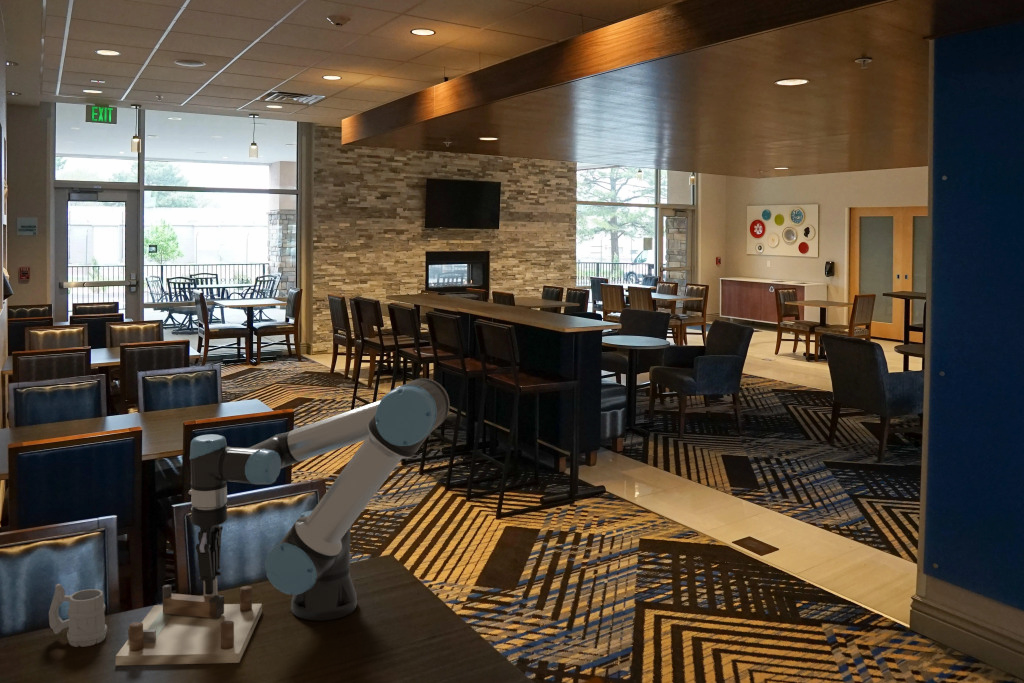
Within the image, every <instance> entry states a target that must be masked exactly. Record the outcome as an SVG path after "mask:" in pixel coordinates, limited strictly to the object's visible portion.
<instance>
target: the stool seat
mask: <svg viewBox="0 0 1024 683" xmlns="http://www.w3.org/2000/svg"><path fill="white" fill-rule="evenodd" d="M262 613H263V604H262V603H253V587H252V586H249V585H246V586H245V585H244V586H241V587H240V588H239V603H224V614H222V615H221V616H220V617H219V618H208V617H197V616H186V615H175V614H164V613H163V604H159V605H158V604H157V605H153V606H152V607H151V609H150V610H149V611H148V613H147V614H146V615H145V617H144V618H143V620H142V621H141V622H140V621H138V622H137V621H136V622H132V623H130V624H129V625H128V628H127V640H126V642H125V643H124V645H123V646H122V647H121V648H120V650H119V651H118V652H117V653H116V655H115V666H146V665H147V666H155V665H157V666H158V665H188V664H189V665H193V664H194V665H195V664H196V665H197V664H200V665H201V664H202V665H203V664H228V663H229V664H232V663H234V664H236V663H240V662H241V659H242V657H243V655H244V653H245V652H246V651H245V650H246V648H247V646H248V644H249V642H250V640H251V637H252V635H253V633H254V631H255V628H256V626H257V624H258V621H259V619H260V617H261V615H262Z"/></svg>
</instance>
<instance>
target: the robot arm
mask: <svg viewBox="0 0 1024 683" xmlns="http://www.w3.org/2000/svg"><path fill="white" fill-rule="evenodd" d="M450 407H451V406H450V398H449V395H448V393H447V390H446V389H445V387H443V386H442V385H441V383H439V382H437V381H436V380H434V379H431V378H423V377H422V378H416V379H414V380H411V381H409V382H406V383H405V384H402V385H399V386H396V387H395V388H392V389H391V390H390V391H389V392H387V393H386V394H385V395H384V396H383V397H382V398H381V399H380V400H377V401H374V402H371V403H368V404H365V405H362V406H359V407H357V408H354V409H351V410H348V411H345V412H343V413H339V414H336V415H334V416H330V417H328V418H324V419H321V420H319V421H318V420H317V421H316V422H312V423H310V424H307V425H304V426H302V427H298V428H296V429H295V428H294V429H292V430H290V431H287V432H283V433H278V434H275V435H273V436H271V437H270V438H267V439H265V440H263V441H260V442H259V443H257V444H254V445H252V446H250V447H237V446H236V447H234V446H228V445H227V444H228V443H227V439H226V437H225V436H224V435H220V434H212V433H211V434H202V435H199V436H195V437H193V439H192V440H191V441H190V446H189V447H190V448H189V463H190V464H189V466H190V467H189V468H190V490H188V494H189V495H191V497H190V498H191V499H190V501H191V502H190V504H191V508H190V515H191V516H190V522H191V523H192V524H193V525H194V526H196V527H199V528H200V531H198V534H197V536H198V537H197V539H198V541H199V543H197V544H196V545H195V550H196V553H197V561H198V571H199V579H198V580H199V581H200V582H202V581H203V596H206V597H214V596H215V595H218V592H219V591H218V577H219V576H221V575H222V571H219V570H220V569H221V554H222V552H221V551H222V550H221V548H222V535H223V534H222V533H223V528H224V527H223V525H222V524H224V523H225V522H227V520H228V505H227V503H228V490H227V489H228V485H227V482H233V483H242V484H251V485H257V486H258V485H260V486H261V485H272V484H273V483H275V482H276V481H277V478H278V477H279V475H280V473H281V469H284V468H287V467H289V466H292V465H294V464H297V463H300V462H302V461H306V460H309V459H311V458H314V457H318V456H320V455H324V454H327V453H331V452H333V451H337V450H339V449H342V448H345V447H349V446H351V445H354V444H355V445H356V444H358V443H361V442H362V444H361V445H360V446H359V448H358V449H357V450H356V451H355V453H354V455H353V456H352V457H351V458H350V460H349V461H348V463H347V464H346V465H345V467H344V468H343V469H342V470H341V472H340V473H339V475H338V476H337V478H335V481H334V482H332V484H331V485H330V487H329V488H328V490H327V491H326V493H324V495H323V496H322V498H321V499H320V500H319V502H318V503H317V504H316V506H314V508H313V509H312V510H307V511H304V512H302V513H301V514H300V515H299V518H298V519H297V520H296V521H295V522H294V523H293V525H292V526H291V527H290V529H289V530H288V531H287V533H286V534H285V536H284V537H283V538H282V540H281V541H280V542H279V543H276V544H275V545H273V547H272V548H270V550H269V551H268V553H267V555H266V557H265V562H264V570H265V573H266V574H265V575H266V577H267V579H268V581H269V582H270V583H271V585H272V586H273V587H274V588H275V589H277V590H278V591H279V592H281V593H283V594H286V595H292V598H291V602H290V603H291V612H292V615H294V616H296V617H297V618H300V619H303V620H307V621H318V622H319V621H330V620H336V619H341V618H343V617H346V616H348V615H350V614H352V613H353V612H354V611H355V610H356V609H355V608H357V607H356V606H357V604H358V602H357V601H358V596H357V592H356V589H355V587H354V583H353V580H352V578H351V574H350V573H351V572H350V567H351V564H350V563H351V530H352V525H353V524H354V523H355V521H356V520H357V519H358V518H359V516H360V515H361V514H362V512H363V511H364V509H366V507H367V505H368V504H369V503H370V501H371V500H372V498H374V496H375V495H376V494H377V492H378V491H379V490H380V488H381V487H382V486H383V484H384V483H385V482H386V480H387V479H388V478H389V477H390V475H391V474H392V472H393V471H394V469H395V468H396V467H397V466H398V464H399V463H400V462H401V460H402V459H403V460H404V459H411V458H413V456H414V455H415V454H416V453H417V451H418V450H419V449H420V447H421V446H422V444H424V442H425V440H427V438H428V437H429V436H430V435H431V433H432V432H433V431H434V430H436V429H437V428H438V427H439V426H441V425H442V424H443V423H444V422H445V420H446V419H447V416H448V415H449V411H450Z"/></svg>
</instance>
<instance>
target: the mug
mask: <svg viewBox="0 0 1024 683" xmlns="http://www.w3.org/2000/svg"><path fill="white" fill-rule="evenodd" d="M54 590H55V591H54V594H53V598H52V601H51V603H50V604H51V605H50V606H49V611H48V622H49V627H50V628H51V629H52V630H53V633H54V635H58V634H59V633H61V631H62V630H64V629H67V628H68V630H67V632H66V639H67V640H68V644H69V645H70V646H72V647H74V648H75V647H76V648H78V647H82V648H83V647H90V646H93V645H95V644H99V643H101V642H103V641H104V640H105V639H106V636H107V635H106V634H107V631H108V626H107V624H106V618H105V611H106V604H105V603H104V591H102V590H101V589H97V588H96V589H95V588H92V589H91V588H90V589H82V590H79V591H76V592H73V593H72V594H69V595H67V594H66V590H65V589H64V587H63V585H61V584H60V583H57V584H55V588H54ZM63 602H69V605H68V607H69V608H68V609H67V616H68V619H65V620H63V619H62V618H61V617H60V615H59V608H60V606H61V605H62V604H63Z"/></svg>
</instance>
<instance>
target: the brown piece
mask: <svg viewBox="0 0 1024 683" xmlns="http://www.w3.org/2000/svg"><path fill="white" fill-rule="evenodd" d="M224 604H225V596H224V595H215V596H214V597H206V596H204V595H192V594H183V593H182V594H181V593H173V592H172V585H171V584H164V585H162V605H163V613H164V614H175V615H186V616H197V617H208V618H219V617H220V616H221V615H222V614H224Z"/></svg>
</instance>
